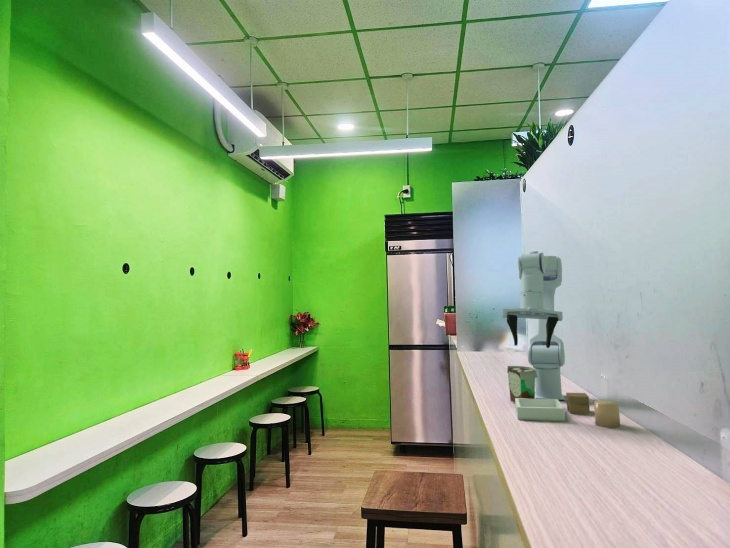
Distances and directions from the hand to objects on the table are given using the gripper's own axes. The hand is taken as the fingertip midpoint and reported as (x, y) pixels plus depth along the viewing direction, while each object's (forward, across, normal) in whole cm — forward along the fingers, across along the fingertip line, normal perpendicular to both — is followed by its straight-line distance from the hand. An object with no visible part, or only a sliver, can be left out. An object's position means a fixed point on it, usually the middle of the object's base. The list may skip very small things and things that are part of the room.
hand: (531, 345), depth 111 cm
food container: (+13, 0, +18) cm, 22 cm away
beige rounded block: (+17, +16, -1) cm, 24 cm away
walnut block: (+14, +12, +11) cm, 21 cm away
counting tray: (+16, +2, +6) cm, 18 cm away
